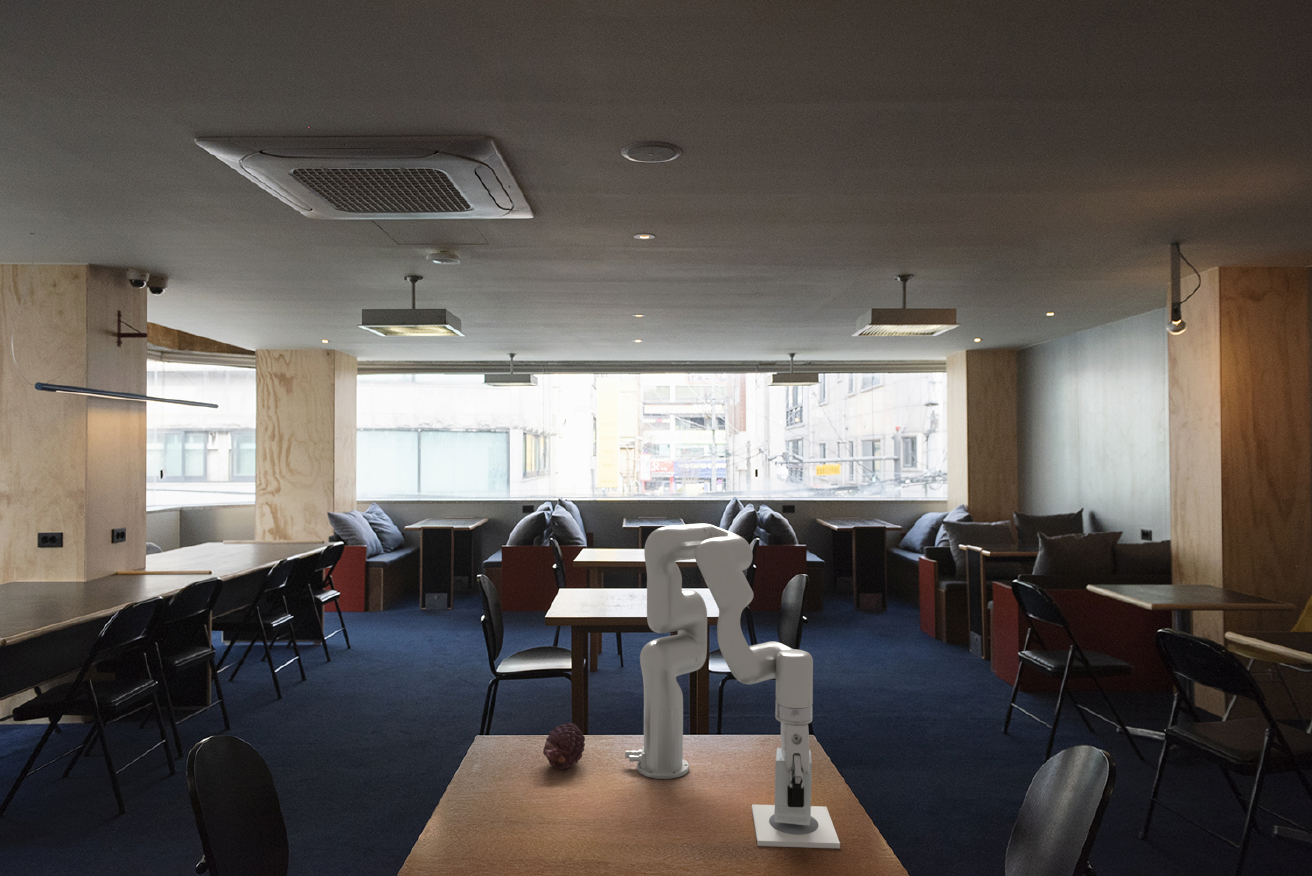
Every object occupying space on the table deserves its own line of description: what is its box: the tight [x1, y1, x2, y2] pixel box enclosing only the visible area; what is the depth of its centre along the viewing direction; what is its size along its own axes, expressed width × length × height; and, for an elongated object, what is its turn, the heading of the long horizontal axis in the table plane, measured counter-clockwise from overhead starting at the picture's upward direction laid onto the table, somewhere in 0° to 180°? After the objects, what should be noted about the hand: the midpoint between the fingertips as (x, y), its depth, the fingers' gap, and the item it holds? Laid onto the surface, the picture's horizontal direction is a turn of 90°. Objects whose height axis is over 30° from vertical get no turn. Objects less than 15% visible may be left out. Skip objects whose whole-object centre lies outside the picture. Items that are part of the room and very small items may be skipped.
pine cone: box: [542, 722, 586, 770], centre depth 195 cm, size 18×10×10 cm, turn 171°
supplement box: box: [774, 747, 813, 826], centre depth 164 cm, size 7×7×13 cm
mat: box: [751, 803, 841, 849], centre depth 164 cm, size 16×16×1 cm
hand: (793, 796), depth 164 cm, fingers closed on supplement box, 7 cm apart
